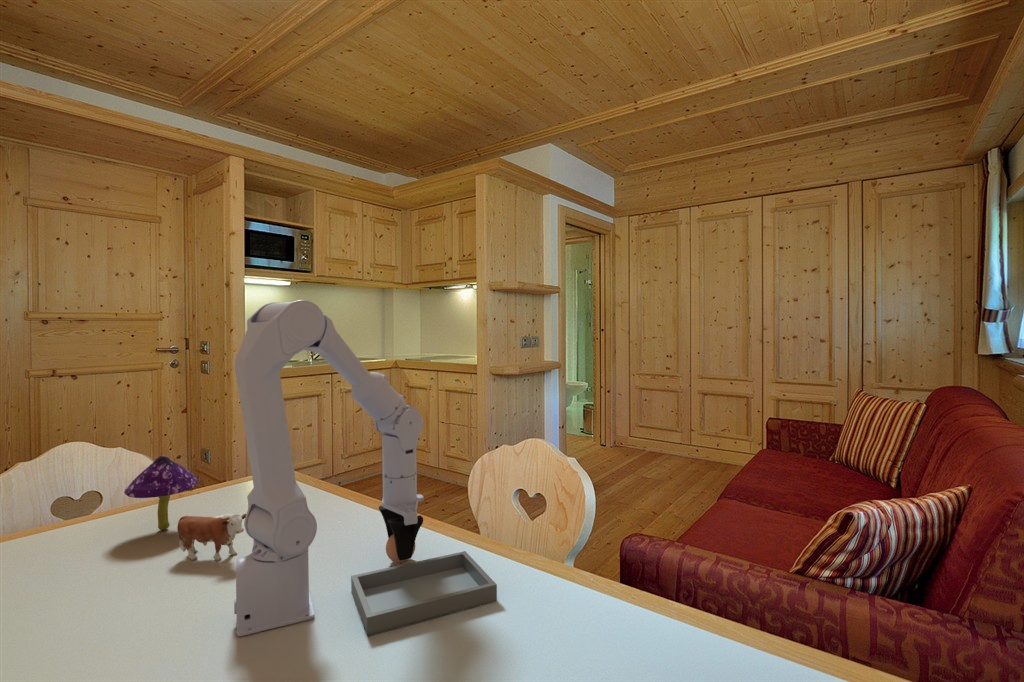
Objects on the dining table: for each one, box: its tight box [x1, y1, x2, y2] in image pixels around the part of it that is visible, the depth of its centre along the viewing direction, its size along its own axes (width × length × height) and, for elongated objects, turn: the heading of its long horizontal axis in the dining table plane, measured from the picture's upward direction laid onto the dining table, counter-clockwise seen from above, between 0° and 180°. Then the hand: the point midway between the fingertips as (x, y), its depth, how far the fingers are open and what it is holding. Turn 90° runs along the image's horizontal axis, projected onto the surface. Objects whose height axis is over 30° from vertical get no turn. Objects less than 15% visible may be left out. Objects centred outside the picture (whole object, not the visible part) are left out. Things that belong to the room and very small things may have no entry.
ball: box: [385, 535, 416, 564], centre depth 87 cm, size 5×5×5 cm
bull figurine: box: [176, 513, 247, 562], centre depth 90 cm, size 4×13×8 cm, turn 78°
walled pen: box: [350, 550, 498, 637], centre depth 76 cm, size 19×13×2 cm
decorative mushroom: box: [123, 455, 200, 531], centre depth 102 cm, size 12×12×15 cm
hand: (400, 552), depth 87 cm, fingers closed on ball, 5 cm apart
